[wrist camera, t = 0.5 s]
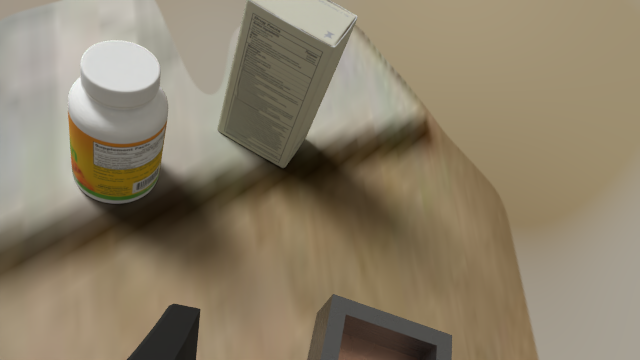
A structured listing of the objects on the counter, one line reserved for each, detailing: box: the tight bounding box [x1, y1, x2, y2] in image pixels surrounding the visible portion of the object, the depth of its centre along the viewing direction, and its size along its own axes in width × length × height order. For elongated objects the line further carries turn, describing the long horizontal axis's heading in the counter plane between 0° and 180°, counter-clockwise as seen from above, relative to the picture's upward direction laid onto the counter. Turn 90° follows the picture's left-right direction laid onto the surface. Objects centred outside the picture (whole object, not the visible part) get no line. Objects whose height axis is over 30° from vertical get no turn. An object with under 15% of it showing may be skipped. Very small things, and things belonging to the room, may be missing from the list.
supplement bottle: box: [68, 40, 168, 204], centre depth 31 cm, size 5×5×10 cm
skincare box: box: [218, 0, 357, 168], centre depth 36 cm, size 6×4×12 cm
